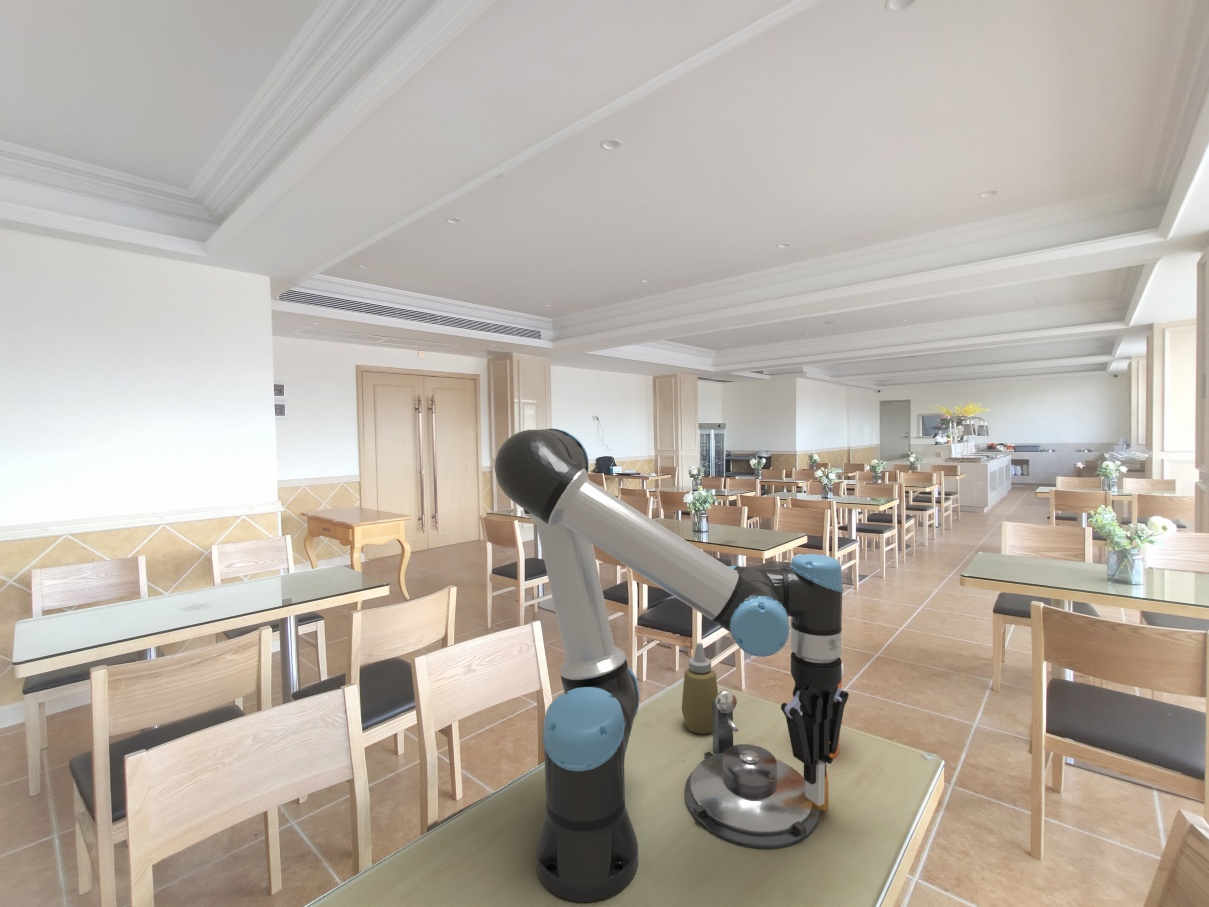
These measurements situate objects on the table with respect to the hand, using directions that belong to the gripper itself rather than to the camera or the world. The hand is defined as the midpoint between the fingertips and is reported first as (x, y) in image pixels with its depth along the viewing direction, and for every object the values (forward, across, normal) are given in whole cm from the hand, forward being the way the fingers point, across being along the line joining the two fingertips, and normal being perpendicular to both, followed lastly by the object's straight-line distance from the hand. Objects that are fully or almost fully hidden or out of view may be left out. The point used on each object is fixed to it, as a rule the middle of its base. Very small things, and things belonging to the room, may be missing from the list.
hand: (814, 799), depth 88 cm
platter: (+3, -4, +8) cm, 10 cm away
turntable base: (+4, -5, +9) cm, 11 cm away
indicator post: (+4, -1, +20) cm, 20 cm away
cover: (+2, -4, +10) cm, 11 cm away
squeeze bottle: (+4, +2, +32) cm, 32 cm away
